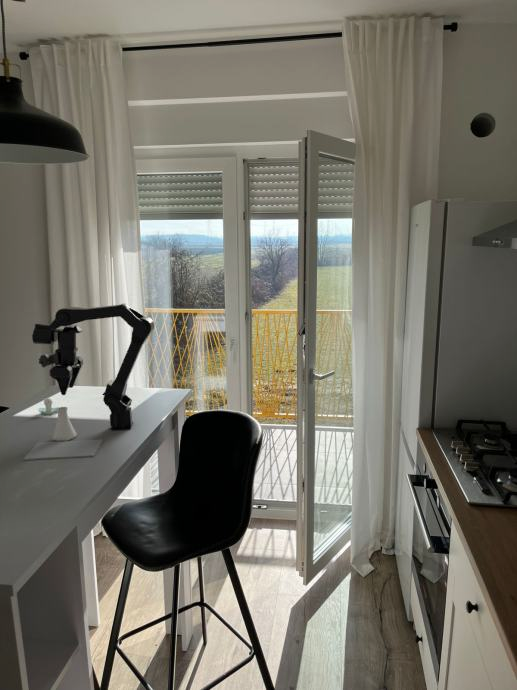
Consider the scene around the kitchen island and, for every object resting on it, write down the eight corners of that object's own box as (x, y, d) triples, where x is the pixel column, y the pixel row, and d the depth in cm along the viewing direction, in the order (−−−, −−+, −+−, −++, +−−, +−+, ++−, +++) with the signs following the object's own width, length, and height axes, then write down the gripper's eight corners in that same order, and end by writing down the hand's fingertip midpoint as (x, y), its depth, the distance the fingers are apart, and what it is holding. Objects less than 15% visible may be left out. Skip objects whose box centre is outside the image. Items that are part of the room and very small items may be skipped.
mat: (103, 440, 168) (102, 439, 168) (93, 456, 156) (93, 455, 156) (38, 443, 167) (37, 442, 167) (23, 460, 154) (23, 458, 154)
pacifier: (42, 411, 201) (37, 416, 195) (41, 395, 200) (35, 399, 194) (62, 410, 202) (58, 415, 196) (61, 394, 201) (56, 398, 195)
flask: (48, 440, 169) (45, 410, 168) (62, 433, 176) (59, 404, 174) (67, 442, 167) (64, 412, 166) (81, 434, 174) (78, 405, 172)
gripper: (50, 339, 184) (50, 383, 187) (32, 350, 165) (33, 398, 168) (83, 340, 185) (83, 384, 188) (69, 351, 166) (69, 399, 169)
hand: (67, 391), depth 178 cm, fingers open, 9 cm apart
